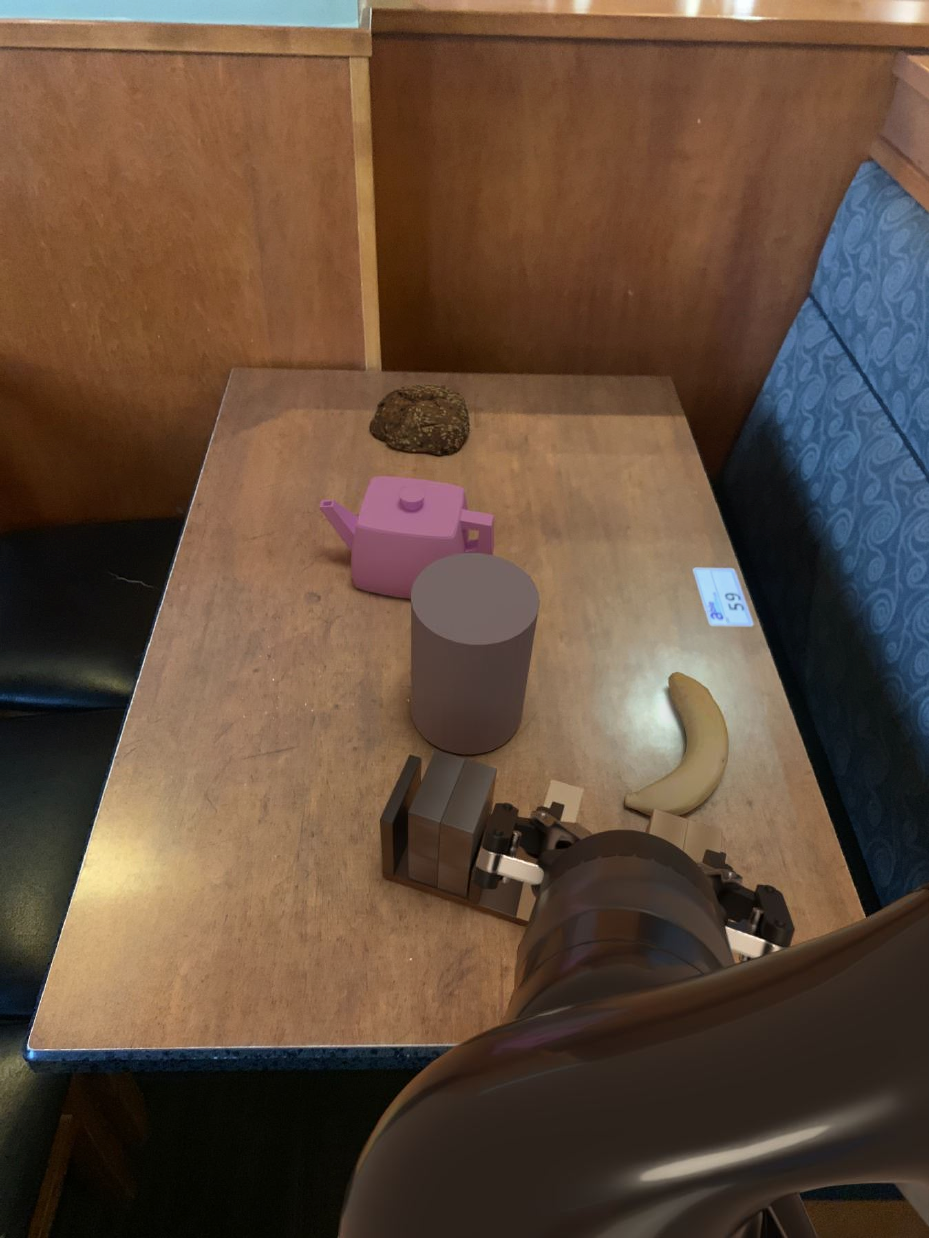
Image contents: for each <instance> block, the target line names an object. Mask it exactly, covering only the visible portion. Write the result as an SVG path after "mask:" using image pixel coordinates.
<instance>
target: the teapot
mask: <svg viewBox="0 0 929 1238" xmlns="http://www.w3.org/2000/svg"><path fill="white" fill-rule="evenodd" d="M468 508H469V507H468V501H467V496H466V492H465V488H463V487H462V486H460V485H456V484H451V483H447V482H442V481H436V480H435V481H434V480H428V479H421V478H414V477H413V478H412V477H401V476H389V475H387V476H385V475H384V476H383V475H382V476H380V475H379V476H373V477H372V478H371V479H370V481H369V483H368V486H367V489H366V491H365V494H364V497H363V500H362V503H361V505H360V509H359V511H358V515H357V514H355V513H353V512H352V511H350V510H349V509H347V507H344V505H342V504H340V503H339V502H337V501H336V499H323V500H321V501H320V504H319V507H318V509H319V510H320V512H321V514H323V516H324V517H325V518H326V519H327V521H328V522H329V524H330V525H331V526H332V528H333V529H334V530H335V532H336V534H338V536H339V537H340V539H341V540H342V541H343V542H344V544H345V546H346V547H347V548H348V549H349V551H350V552H351V556H350V557H351V558H350V570H351V571H350V572H351V573H350V574H351V578H352V581H353V584H354V585H355V587H356V588H357V589H359V590H361V591H365V592H370V593H374V594H378V595H382V596H383V595H384V596H388V597H394V598H401V599H408V600H411V590H412V587H413V584H414V581H415V580H416V578H417V577H418V575H419V574H420V573H421V572H422V571H423V570H424V569H425V568H426V567H427V566H429V565H430V564H432V563H433V562H435V561H437V560H439V559H442V558H444V557H447V556H451V555H455V554H463V553H482V554H488V555H493V556H494V550H495V530H494V529H495V522H494V519H495V517H494V516H495V515H494V514H491V513H487V512H480V511H475V510H469V509H468ZM470 531H478V534H477V535H478V537H477V538H476V539H471V540H469V539H470Z"/></svg>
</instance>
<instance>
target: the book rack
mask: <svg viewBox="0 0 929 1238" xmlns="http://www.w3.org/2000/svg"><path fill="white" fill-rule="evenodd" d="M422 759H423V758H422V757H420V756H417V755H413V754H409V755H408V757H407V759H406V761H405V764H404V766H403V768H402V770H401V772H400V774H399V777H398V779H397V780H396V783H395V786H394V787H393V789H392V792H391V794H390V796H389V798H388V801H387V802H386V805H385V807H384V810H383V812H382V814H381V816H380V818H379V831H380V851H381V868H382V869H381V870H382V871H381V872H382V878H383V879H385V880H388V881H391V882H394V883H396V884H399V885H403V886H405V887H408V888H411V889H415V890H417V891H421V892H424V893H426V894H429V895H432V896H434V897H438V898H441V899H443V900H447V901H449V902H453V903H455V904H458V905H461V906H464V907H467V908H470V909H473V910H476V911H479V912H481V913H484V914H487V915H490V916H493V917H495V918H498V919H501V920H505V921H508V922H511V923H513V924H516V925H519V926H521V927H525V928H526V926H527V924H528V921H526V920H523V919H520V918H517V917H516V916H517V911H518V906H519V902H520V897H521V892H522V887H523V883H524V882H522V881H518V880H515V879H512V878H510V881H509V883H507V884H505V883H502V882H500V881H499V883H498V887H497V888H496V889H483V888H481V887H479V886H477V885H476V884H474V883H473V882H472V877H473V873H474V869H475V865H476V862H477V858H478V854H479V850H480V847H481V843H482V839H483V836H484V832H485V828H486V826H487V824H488V821H489V819H490V817H491V815H492V812H493V810H494V808H495V805H496V804H497V803H498V802H496V803H495V804H494V807H493V803H494V795H495V787H496V780H497V773H498V768H497V767H494V766H491V765H488V764H484V763H482V762H478V761H475V760H472V759H468V758H464V757H461V756H458V755H455V754H453V753H452V754H451V753H450V752H445V751H442V750H439V749H435V750H434V751H433V753H432V756H431V758H430V760H429V763H428V765H427V768H426V770H425V772H424V774H423V777H422V763H423V762H422ZM644 832H645V833H649V834H652V835H655V836H658V837H660V838H662V839H665V840H667V841H668V842H670V843H672V844H674V845H675V846H677V847H678V848H680V849H681V850H682V851H684V852H685V853H686V854H687V855H688V856H690V857H691V858H692V859H693V860H694V861H700V862H702V860H703V857H704V853H705V851H706V849H708V850H712V851H715V852H718V853H720V855H721V858H722V861H723V863H726V861H727V853H726V852H723V851H721V850H722V844H723V837H724V836H723V835H724V829H721V828H718V827H715V826H711V825H709V824H705V823H702V822H699V821H696V820H692V819H689V818H686V817H682V816H680V815H679V816H676V815H673V814H670V813H666V812H663V811H660V810H657V809H654V810H653V813H652V815H651V816H650V818H649V820H648V823H647V825H646V827H645V830H644Z"/></svg>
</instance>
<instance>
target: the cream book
mask: <svg viewBox="0 0 929 1238" xmlns="http://www.w3.org/2000/svg"><path fill="white" fill-rule="evenodd" d="M584 792H585V788H582V787H579V786H576V785H572V784H569V783H565V782H562V781H559V780H556V779H550V782H549V785H548V788H547V792H546V796H545V799H544V802H543V805H542V806H544V807H547V808H550V806H551V804H552V802H553V801H554V802H557V803H561V804H564V805H565V806H564V810H563V814H562V818H561V821H565V822H574V823H577V818H578V814H579V811H580V808H581V807H580V806H581V803H582V799H583V795H584ZM535 901H536V897H535V896H534V895H533V893H532V890H531V884H528V883H525V882H524V883H523V887H522V892H521V897H520V902H519V906H518V911H517V916H516V917H517V918H520V919H523V920H526V921H529V918H530V915H531V912H532V909H533V906H534V904H535Z"/></svg>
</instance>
